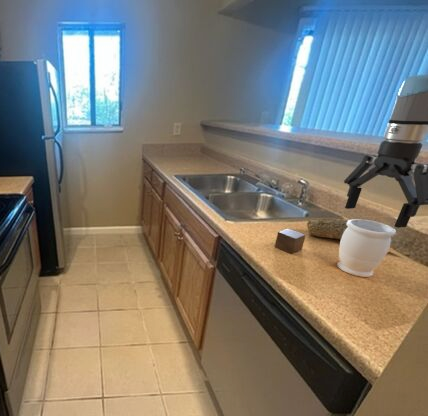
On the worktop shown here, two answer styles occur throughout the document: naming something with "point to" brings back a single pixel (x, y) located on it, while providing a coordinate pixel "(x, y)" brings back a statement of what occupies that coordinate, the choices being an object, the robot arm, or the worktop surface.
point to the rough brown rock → (327, 228)
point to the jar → (364, 246)
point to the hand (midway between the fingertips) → (372, 216)
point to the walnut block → (290, 241)
